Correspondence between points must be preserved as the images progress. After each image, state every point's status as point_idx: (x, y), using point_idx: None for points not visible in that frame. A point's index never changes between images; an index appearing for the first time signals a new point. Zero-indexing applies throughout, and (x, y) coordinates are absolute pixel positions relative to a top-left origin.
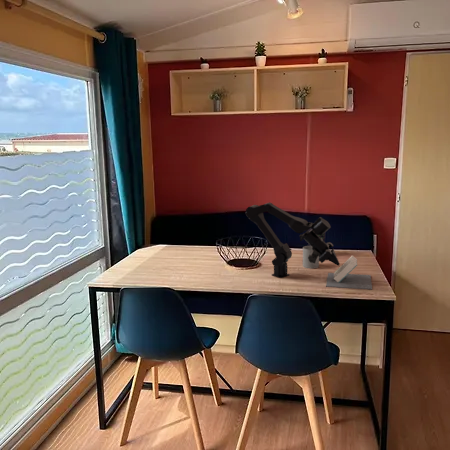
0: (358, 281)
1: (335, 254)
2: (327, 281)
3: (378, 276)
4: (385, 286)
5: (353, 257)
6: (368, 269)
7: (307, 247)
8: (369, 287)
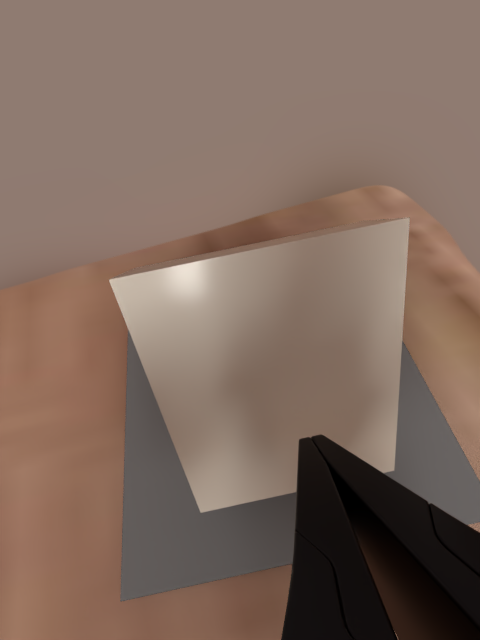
0: None
1: (353, 611)
2: None
3: (132, 258)
4: (271, 213)
5: (180, 262)
6: (12, 319)
7: None
8: None
